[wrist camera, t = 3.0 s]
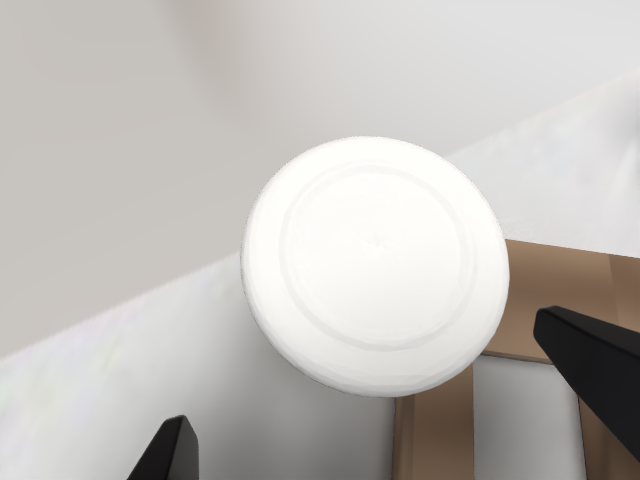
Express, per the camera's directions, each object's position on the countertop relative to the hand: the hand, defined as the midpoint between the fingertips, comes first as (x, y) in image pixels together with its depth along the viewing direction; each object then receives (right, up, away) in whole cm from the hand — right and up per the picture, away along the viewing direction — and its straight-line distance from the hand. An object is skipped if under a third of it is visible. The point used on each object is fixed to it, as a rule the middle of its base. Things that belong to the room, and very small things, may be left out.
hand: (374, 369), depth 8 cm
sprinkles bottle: (-1, -1, +10) cm, 10 cm away
